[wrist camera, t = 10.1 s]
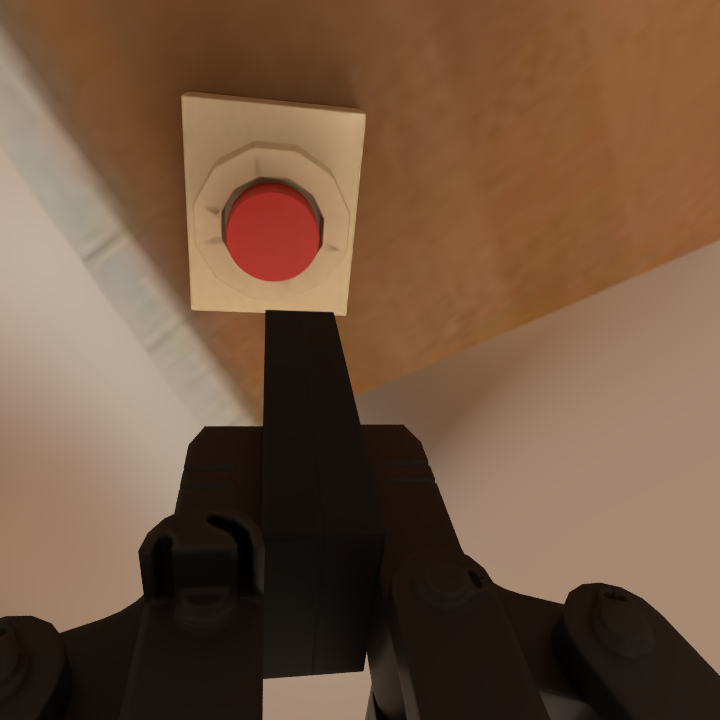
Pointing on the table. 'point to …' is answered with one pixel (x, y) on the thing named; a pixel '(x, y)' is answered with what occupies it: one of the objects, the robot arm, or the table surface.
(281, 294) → the button housing
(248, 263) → the stop button
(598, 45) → the table surface
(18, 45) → the table surface
